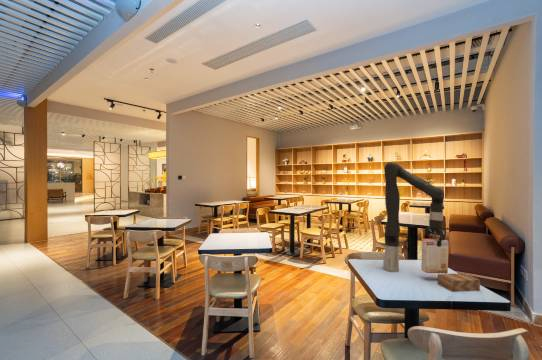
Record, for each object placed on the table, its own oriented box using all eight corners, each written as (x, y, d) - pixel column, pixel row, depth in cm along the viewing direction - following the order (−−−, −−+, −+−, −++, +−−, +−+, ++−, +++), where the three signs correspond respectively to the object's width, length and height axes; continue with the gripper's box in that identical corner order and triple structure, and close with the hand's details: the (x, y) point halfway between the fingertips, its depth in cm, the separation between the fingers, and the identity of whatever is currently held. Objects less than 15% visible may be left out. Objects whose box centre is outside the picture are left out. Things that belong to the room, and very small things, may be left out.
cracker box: (441, 270, 177) (443, 238, 177) (447, 273, 171) (449, 240, 171) (420, 270, 177) (421, 237, 176) (425, 273, 171) (427, 240, 170)
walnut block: (452, 291, 155) (452, 280, 155) (437, 284, 166) (437, 274, 166) (479, 290, 158) (479, 279, 158) (463, 282, 168) (463, 273, 168)
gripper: (422, 217, 180) (421, 242, 180) (439, 220, 166) (438, 248, 166) (433, 217, 181) (432, 242, 181) (450, 220, 167) (449, 248, 167)
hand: (435, 245), depth 174 cm, fingers closed on cracker box, 6 cm apart
